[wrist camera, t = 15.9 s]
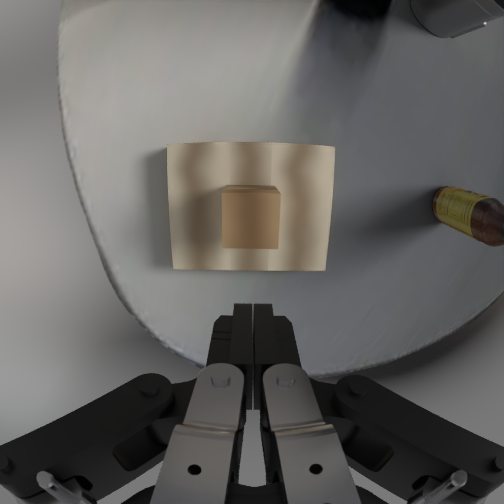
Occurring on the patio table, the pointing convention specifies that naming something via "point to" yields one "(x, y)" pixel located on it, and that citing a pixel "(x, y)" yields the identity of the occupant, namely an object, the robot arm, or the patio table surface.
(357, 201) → the patio table surface
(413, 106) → the patio table surface
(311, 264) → the birch board
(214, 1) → the patio table surface
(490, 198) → the sauce bottle
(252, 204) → the oak peg
